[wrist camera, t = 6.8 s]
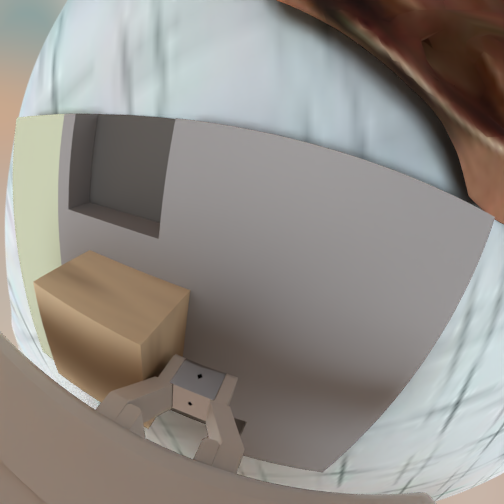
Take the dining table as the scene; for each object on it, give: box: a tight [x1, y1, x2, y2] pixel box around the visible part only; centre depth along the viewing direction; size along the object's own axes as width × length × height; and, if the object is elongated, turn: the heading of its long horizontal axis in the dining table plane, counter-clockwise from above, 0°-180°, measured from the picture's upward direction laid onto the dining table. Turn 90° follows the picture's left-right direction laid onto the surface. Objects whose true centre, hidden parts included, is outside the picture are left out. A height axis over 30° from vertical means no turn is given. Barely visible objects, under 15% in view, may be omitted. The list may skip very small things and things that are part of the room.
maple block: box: [33, 250, 190, 429], centre depth 12 cm, size 6×6×4 cm
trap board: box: [13, 114, 495, 472], centre depth 14 cm, size 20×26×2 cm
